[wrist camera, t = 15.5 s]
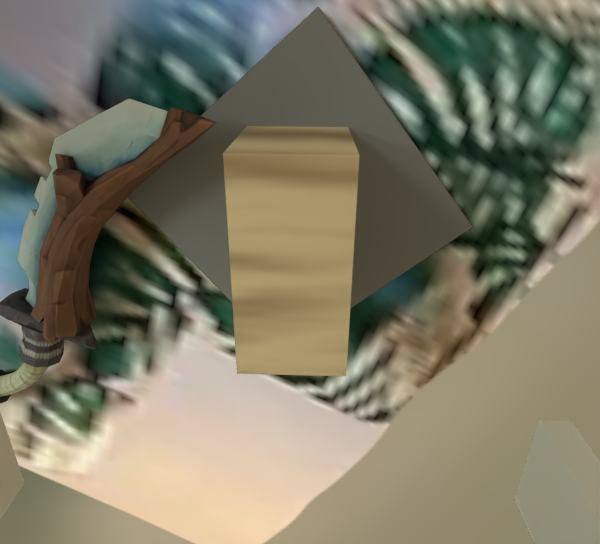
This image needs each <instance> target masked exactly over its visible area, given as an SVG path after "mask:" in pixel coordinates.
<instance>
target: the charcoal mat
mask: <svg viewBox="0 0 600 544" xmlns="http://www.w3.org/2000/svg"><path fill="white" fill-rule="evenodd" d="M201 117H204V118H207V119H210V120H212V121H215V122H217V123H216V124H215V125H213V126H212V127H211V128H210V129H209V130H208V131H206V132H205V133H204V134H203V135H202V136H200V137H199V138H198V139H197V140H196V141H194V142H193V143H192V144H191V145H189V146H188V147H187V148H185V149H184V150H183V151H181V152H180V153H179V154H177V155H176V156H174V157H173V158H171V159H170V160H168V161H166V162H165V163H164V164H163V165H162V166H161V167H160V168H159V169H158V170H157V171H155V172H154V173H153V174H152V175H151V176H150V177H149V178H147V179H146V180H145V181H144V182H143V183H141V184H140V185H139V186H138V187H136V188H135V189H134V190H133V191H132V192H131V193H130V195H129V196H128V198H129V199H130V200H131V201H132V202H133V203H134V204H135V205H136V206H137V207H138V208H139V209H140V210H141V211H142V212H143V213H144V214H145V215H146V216H147V217H148V218H149V219H150V220H151V221H152V222H153V223H154V224H155V225H156V226H157V227H158V228H159V229H160V230H161V231H162V232H163V233H164V234H165V235H166V236H167V237H168V238H169V239H170V240H171V241H172V242H173V243H174V244H175V245H176V246H177V247H178V248H179V249H180V250H181V251H182V252H183V253H184V254H185V255H186V256H187V257H188V258H189V259H190V260H191V261H192V262H193V263H194V264H195V265H196V266H197V267H198V268H199V269H200V270H201V271H202V272H203V273H204V274H205V276H206V277H207V278H208V279H209V280H210V281H211V282H212V283H213V284H214V285H215V286H216V287H217V288H218V289H219V290H220V291H221V292H222V293H223V294H224V295H225V296H226V297H227V298H228V299H229V300H230V301H231V302H232V286H231V271H230V255H229V240H228V224H227V209H226V193H225V177H224V162H223V153H224V151H225V150H226V149H227V148H228V147H229V146H230V145H231V144H232V142H233V141H234V140H235V139H236V138H237V137H238V136H239V135H240V133H241V132H242V131H243V130H244V129H245V128H246V127H247V126H281V127H348V128H349V131H350V133H351V135H352V138H353V140H354V143H355V145H356V147H357V150H358V152H359V172H358V189H357V205H356V222H355V238H354V255H353V271H352V288H351V305H350V309H351V308H352V307H354V306H355V305H357V304H358V303H360V302H361V301H363V300H364V299H366V298H367V297H369V296H370V295H372V294H373V293H375V292H376V291H378V290H379V289H381V288H382V287H384V286H385V285H387V284H388V283H390V282H391V281H393V280H394V279H396V278H397V277H399V276H400V275H402V274H403V273H405V272H406V271H408V270H409V269H411V268H412V267H413V266H415V265H416V264H418V263H419V262H421V261H422V260H424V259H425V258H427V257H428V256H430V255H431V254H433V253H434V252H436V251H437V250H439V249H440V248H442V247H443V246H445V245H446V244H448V243H449V242H451V241H452V240H454V239H455V238H457V237H458V236H460V235H461V234H463V233H464V232H466V231H467V230H469V229H470V228H472V225H471V224H470V223H469V221H468V220H467V218H466V217H465V215H464V214H463V213H462V211H461V210H460V208H459V207H458V206H457V204H456V203H455V201H454V200H453V198H452V197H451V196H450V194H449V193H448V191H447V190H446V188H445V187H444V186H443V184H442V183H441V181H440V180H439V178H438V177H437V176H436V174H435V173H434V171H433V170H432V168H431V167H430V166H429V164H428V163H427V161H426V160H425V158H424V157H423V156H422V154H421V153H420V151H419V150H418V148H417V147H416V146H415V144H414V143H413V141H412V140H411V138H410V137H409V136H408V134H407V133H406V131H405V130H404V128H403V127H402V126H401V124H400V123H399V121H398V120H397V118H396V117H395V116H394V114H393V113H392V111H391V110H390V108H389V107H388V106H387V104H386V103H385V101H384V100H383V98H382V97H381V96H380V94H379V93H378V91H377V90H376V88H375V87H374V86H373V84H372V83H371V81H370V80H369V78H368V77H367V76H366V74H365V73H364V71H363V70H362V68H361V67H360V66H359V64H358V63H357V61H356V60H355V59H354V57H353V56H352V54H351V53H350V51H349V50H348V49H347V47H346V46H345V44H344V43H343V41H342V40H341V39H340V37H339V36H338V34H337V33H336V31H335V30H334V29H333V27H332V26H331V24H330V23H329V21H328V20H327V19H326V17H325V16H324V14H323V13H322V11H321V10H320V9H319V7H317V8H316V9H315V10H314V11H313V12H312V13H311V14H310V15H309V16H308V17H307V18H306V19H305V20H303V21H302V22H301V23H300V24H299V25H298V26H297V27H296V28H295V29H294V30H293V31H292V32H291V33H289V34H288V35H287V36H286V37H285V38H284V39H283V40H282V41H281V42H280V43H279V44H278V45H276V46H275V47H274V48H273V49H272V50H271V51H270V52H269V53H268V54H267V55H266V56H265V57H264V58H262V59H261V60H260V61H259V62H258V63H257V64H256V65H255V66H254V67H253V68H252V69H251V70H250V71H248V72H247V73H246V74H245V75H244V76H243V77H242V78H241V79H240V80H239V81H238V82H237V83H236V84H234V85H233V86H232V87H231V88H230V89H229V90H228V91H227V92H226V93H225V94H224V95H223V96H222V97H220V98H219V99H218V100H217V101H216V102H215V103H214V104H213V105H212V106H211V107H210V108H209V109H208V110H206V111H205V112H204V113H203V114H202V115H201ZM232 303H233V302H232Z"/></svg>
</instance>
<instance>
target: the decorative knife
mask: <svg viewBox="0 0 600 544" xmlns="http://www.w3.org/2000/svg"><path fill="white" fill-rule="evenodd" d="M216 123H217V122H215V121H212V120H210V119H207V118H204V117H201V116H199V115H196V114H193V113H190V112H188V111H185V110H182V109H178V108H172V107H171V108H170V109H169V110H168V111H165V110H162V109H159V108H156V107H153V106H150V105H147V104H144V103H141V102H138V101H135V100H132V99H127V100H125V101H123V102H121V103H119V104H117V105H116V106H114V107H112V108H110V109H108V110H106V111H104V112H102V113H100V114H98V115H96V116H94V117H92V118H90V119H88V120H87V121H85V122H83V123H81V124H79V125H78V126H76V127H74V128H72V129H71V130H69V131H67V132H65V133H64V134H62V135H60V136H58V137H56V138H55V139H54V143H53V147H52V150H51V154H50V157H49V164H50V166H51V167H52V169H51V171H50V173H49V176H48V178H46V177H42V176H41V178H40V180H39V183H38V186H37V189H36V192H35V195H34V197H35V198H36V200H37V201H38V203H39V207H38V209H37V210H34V209H30V211H29V214H28V216H27V219H26V222H25V225H24V228H23V232H22V237H21V243H20V248H19V253H18V258H17V261H18V262H19V263H20V265H21V266H22V268H23V269H24V271H25V272H26V274H27V275H28V279H29V289H26V288H25V289H22V290H20V291H17V292H15V293H12V294H10V295H9V296H8V297H6V298H5V299H4V300H2V301H1V302H0V315H1V316H3V317H5V318H6V319H8V320H11V321H13V322H15V323H17V324H19V325H21V326H22V331H23V337H24V338H23V340H22V342H21V345H20V347H19V350H20V356H21V359H22V362H24V363H23V364H22V366H21V367H20V368H19V369H18V370H17V371H15V372H13V373H11V374H9V373H7V372H5V371H3V370H2V369H1V370H0V403H3V402H5V401H7V400H8V399H9V397H10V396H11V394H14V393H17V392H19V391H22V390H24V389H27V388H29V387H30V386H31V385H33V384H34V383H35V382H36V381H37V380H38V379H39V378H40V377H41V375H42V374H43V373H44V372H45V371H46V369H47V368H48V367H49V366H51V365H54V364H56V363H59V362H60V360H61V358H62V355H63V351H64V339H66V340H70V341H72V342H74V343H76V344H78V345H81V346H83V347H85V348H89V349H96V339H95V337H94V334H93V331H92V328H91V327H90V325H89V324H90V323H91V321H92V319H95V318H97V315H96V311H95V308H94V304H93V300H92V297H91V293H90V289H89V271H90V261H91V257H92V253H93V249H94V245H95V242H96V240H97V237H98V235H99V233H100V231H101V228H102V226H103V225H104V224H105V223H106V221H107V220H108V219H109V218H110V217H111V216H112V215H113V213H114V211H115V210H116V209H117V208H118V207H119V206H120V205H121V203H122V202H123V201H124V200H125V199H126V198H127V197H128V196H129V195H130V193H131V192H132V191H133V190H134V189H135V188H136V187H138V186H139V185H140V184H141V183H143V182H144V181H145V180H146V179H147V178H149V177H150V176H151V175H152V174H153V173H154V172H155V171H157V170H158V169H159V168H160V167H161V166H162V165H163V164H164V163H165V162H166V161H168V160H170V159H171V158H173V157H174V156H176V155H177V154H179V153H180V152H181V151H183V150H184V149H185V148H187V147H188V146H189V145H191V144H192V143H193V142H194V141H196V140H197V139H198V138H199V137H200V136H202V135H203V134H204V133H205V132H206V131H208V130H209V129H210V128H211V127H212V126H213V125H215V124H216Z"/></svg>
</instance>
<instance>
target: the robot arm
mask: <svg viewBox="0 0 600 544" xmlns="http://www.w3.org/2000/svg"><path fill="white" fill-rule="evenodd" d="M23 484H24V480H23V477H22V474H21V471H20V468H19V466H18V463H17V460H16V457H15V454H14V451H13V448H12V445H11V442H10V439H9V436H8V433H7V430H6V428H5V425H4V422H3V419H2V416H1V413H0V519H1V517H2V516H3V514H4V513H5V511H6V510H7V508H8V507H9V505H10V504H11V502H12V501H13V499H14V498H15V496H16V495H17V493H18V492H19V490H20V489H21V487H22V486H23ZM515 501H516V504H517V506H518V508H519V511H520V513H521V515H522V517H523V519H524V522H525V524H526V526H527V529H528V531H529V533H530V535H531V538H532V540H533V542H534V544H600V462H599V460H598V459H597V457H596V456H595V455H594V453H593V451H592V450H591V449H590V447H589V446H588V444H587V443H586V441H585V440H584V439H583V437H582V436H581V434H580V433H579V431H578V430H577V428H576V427H575V425H574V424H573V422H572V421H565V420H539V421H538V424H537V428H536V431H535V434H534V437H533V441H532V444H531V448H530V450H529V454H528V457H527V461H526V464H525V467H524V471H523V473H522V477H521V480H520V483H519V486H518V490H517V493H516V496H515Z"/></svg>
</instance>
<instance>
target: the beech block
mask: <svg viewBox="0 0 600 544" xmlns="http://www.w3.org/2000/svg"><path fill="white" fill-rule="evenodd" d="M223 162H224V177H225V193H226V209H227V224H228V240H229V255H230V271H231V286H232V302H233V318H234V333H235V349H236V364H237V374H278V375H319V376H346V371H347V354H348V338H349V321H350V305H351V288H352V271H353V255H354V238H355V222H356V205H357V189H358V172H359V152H358V150H357V147H356V145H355V143H354V140H353V138H352V135H351V133H350V131H349V128H348V127H281V126H247V127H246V128H245V129H244V130H243V131H242V132H241V133H240V135H239V136H238V137H237V138H236V139H235V140H234V141H233V142H232V144H231V145H230V146H229V147H228V148H227V149H226V150H225V151H224V153H223Z"/></svg>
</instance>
